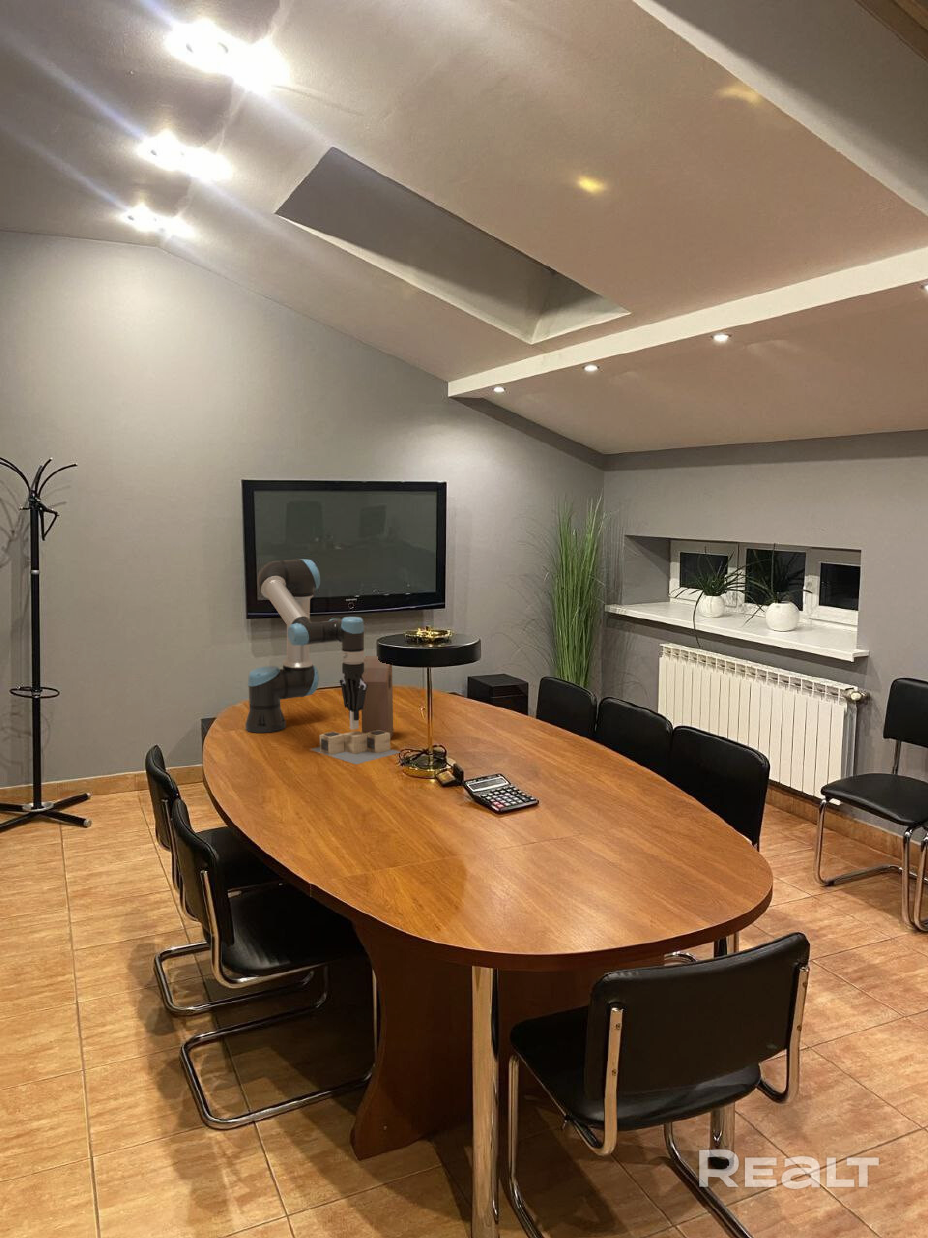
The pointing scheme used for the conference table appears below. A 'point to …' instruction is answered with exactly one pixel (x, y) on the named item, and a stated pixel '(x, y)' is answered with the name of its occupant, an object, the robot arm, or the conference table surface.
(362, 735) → the plain block
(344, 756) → the mat
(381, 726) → the decorative block
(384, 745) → the marked block
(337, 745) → the marked block
